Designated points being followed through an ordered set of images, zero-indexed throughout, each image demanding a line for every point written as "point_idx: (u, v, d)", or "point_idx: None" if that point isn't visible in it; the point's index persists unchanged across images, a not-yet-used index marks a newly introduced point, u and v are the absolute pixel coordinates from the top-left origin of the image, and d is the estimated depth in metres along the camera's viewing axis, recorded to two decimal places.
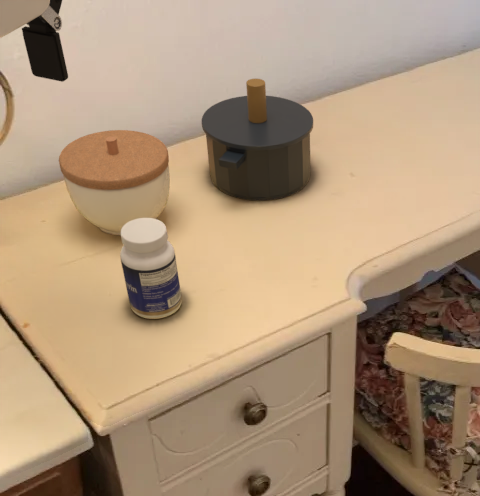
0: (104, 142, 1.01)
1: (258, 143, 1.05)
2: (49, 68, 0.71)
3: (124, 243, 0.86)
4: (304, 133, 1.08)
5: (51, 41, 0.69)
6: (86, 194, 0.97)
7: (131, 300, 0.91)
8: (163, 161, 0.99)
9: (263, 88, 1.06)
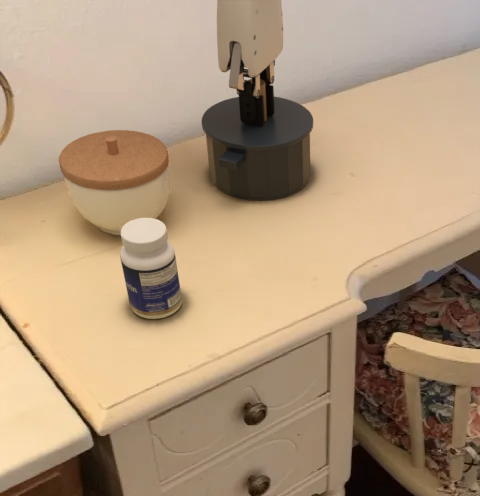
0: (104, 142, 1.01)
1: (258, 143, 1.05)
2: None
3: (124, 243, 0.86)
4: (304, 133, 1.08)
5: (268, 91, 1.08)
6: (86, 194, 0.97)
7: (131, 300, 0.91)
8: (163, 161, 0.99)
9: (263, 88, 1.06)
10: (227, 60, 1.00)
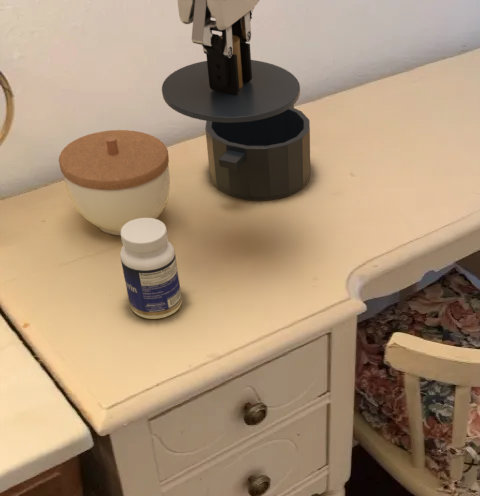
0: (104, 142, 1.01)
1: (231, 114, 0.84)
2: None
3: (124, 243, 0.86)
4: (288, 102, 0.87)
5: (244, 50, 0.87)
6: (86, 194, 0.97)
7: (131, 300, 0.91)
8: (163, 161, 0.99)
9: (237, 46, 0.86)
10: (189, 7, 0.79)
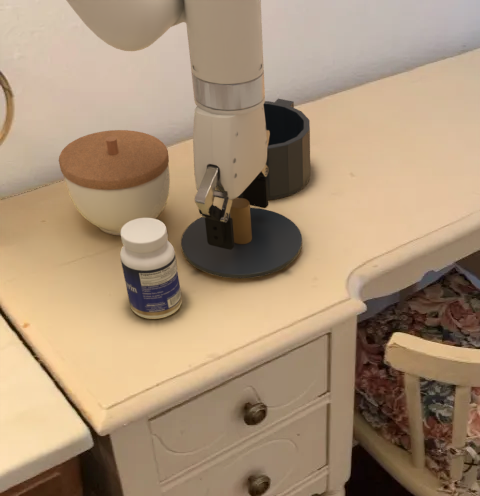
0: (104, 142, 1.01)
1: (242, 270, 0.97)
2: (256, 200, 1.03)
3: (124, 243, 0.86)
4: (292, 256, 1.00)
5: (262, 184, 1.01)
6: (86, 194, 0.97)
7: (131, 300, 0.91)
8: (163, 161, 0.99)
9: (247, 209, 0.98)
10: None
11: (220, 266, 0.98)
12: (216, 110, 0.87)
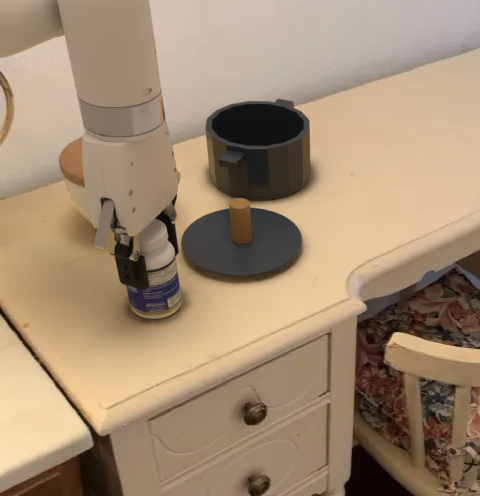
0: None
1: (242, 270, 0.97)
2: None
3: (124, 243, 0.86)
4: (292, 256, 1.00)
5: (169, 230, 0.90)
6: None
7: (131, 300, 0.91)
8: None
9: (247, 209, 0.98)
10: (100, 217, 0.81)
11: (220, 266, 0.98)
12: (105, 137, 0.76)
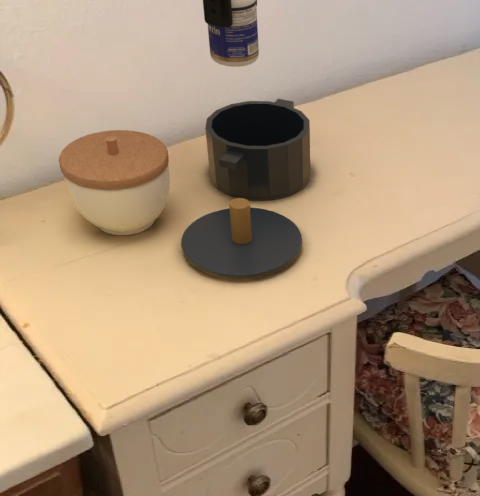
0: (104, 142, 1.01)
1: (242, 270, 0.97)
2: None
3: None
4: (292, 256, 1.00)
5: None
6: (86, 194, 0.97)
7: (213, 45, 0.96)
8: (163, 161, 0.99)
9: (247, 209, 0.98)
10: None
11: (220, 266, 0.98)
12: None
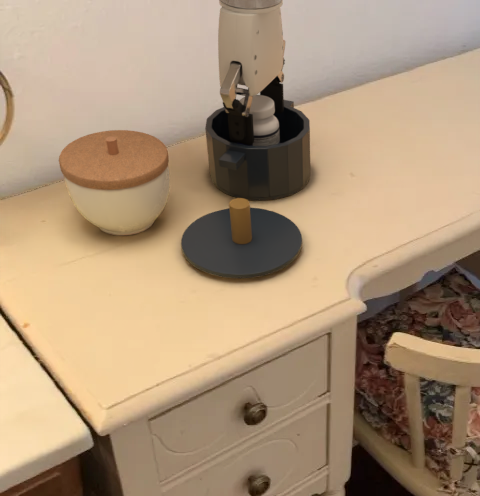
0: (104, 142, 1.01)
1: (242, 270, 0.97)
2: None
3: None
4: (292, 256, 1.00)
5: (278, 89, 1.11)
6: (86, 194, 0.97)
7: None
8: (163, 161, 0.99)
9: (247, 209, 0.98)
10: None
11: (220, 266, 0.98)
12: (239, 9, 0.97)
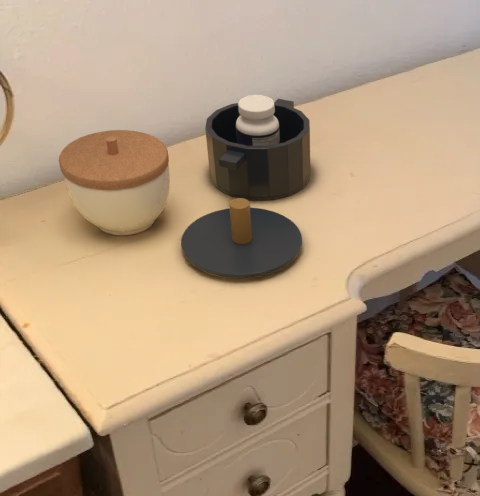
0: (104, 142, 1.01)
1: (242, 270, 0.97)
2: None
3: (241, 112, 1.07)
4: (292, 256, 1.00)
5: None
6: (86, 194, 0.97)
7: None
8: (163, 161, 0.99)
9: (247, 209, 0.98)
10: None
11: (220, 266, 0.98)
12: None
